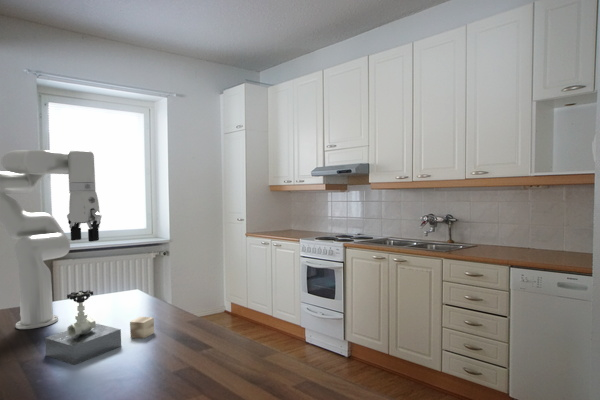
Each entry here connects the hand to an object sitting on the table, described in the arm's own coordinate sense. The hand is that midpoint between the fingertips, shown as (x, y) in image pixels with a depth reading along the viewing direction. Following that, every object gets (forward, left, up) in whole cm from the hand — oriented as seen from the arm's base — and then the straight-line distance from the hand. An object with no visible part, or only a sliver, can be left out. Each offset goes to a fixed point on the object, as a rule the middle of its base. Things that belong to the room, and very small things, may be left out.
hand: (84, 240), depth 128 cm
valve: (+14, -11, -26) cm, 31 cm away
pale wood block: (+19, +6, -30) cm, 36 cm away
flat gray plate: (+14, -10, -30) cm, 35 cm away
